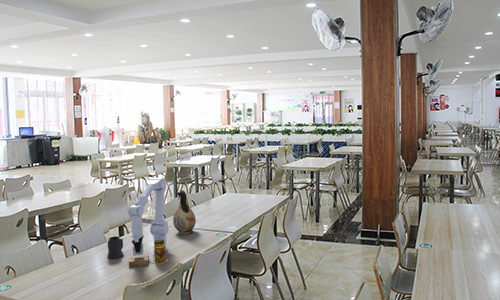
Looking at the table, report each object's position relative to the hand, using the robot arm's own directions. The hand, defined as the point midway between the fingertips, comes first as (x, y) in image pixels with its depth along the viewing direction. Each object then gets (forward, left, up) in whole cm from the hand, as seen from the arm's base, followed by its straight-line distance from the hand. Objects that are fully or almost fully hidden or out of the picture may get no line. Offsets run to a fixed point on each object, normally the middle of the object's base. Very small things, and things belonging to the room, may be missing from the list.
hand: (138, 250), depth 227 cm
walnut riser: (0, 0, -7) cm, 7 cm away
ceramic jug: (-51, +27, -7) cm, 58 cm away
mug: (-16, -14, -7) cm, 22 cm away
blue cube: (0, 0, -2) cm, 2 cm away
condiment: (0, +11, -7) cm, 13 cm away
